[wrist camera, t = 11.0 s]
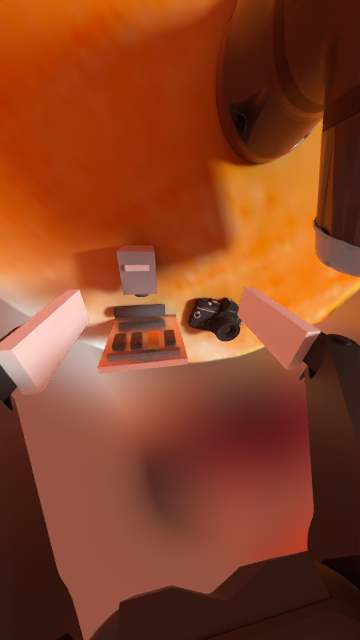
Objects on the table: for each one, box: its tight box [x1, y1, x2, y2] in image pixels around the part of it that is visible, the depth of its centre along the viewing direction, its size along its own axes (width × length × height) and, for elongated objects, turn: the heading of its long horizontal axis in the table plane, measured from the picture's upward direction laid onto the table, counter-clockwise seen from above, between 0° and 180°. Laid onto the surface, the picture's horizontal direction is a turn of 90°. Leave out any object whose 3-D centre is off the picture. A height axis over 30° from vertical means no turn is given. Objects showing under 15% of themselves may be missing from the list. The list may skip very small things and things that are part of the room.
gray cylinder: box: [114, 304, 165, 319], centre depth 33 cm, size 10×2×2 cm, turn 89°
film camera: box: [188, 298, 243, 341], centre depth 36 cm, size 13×8×10 cm
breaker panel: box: [98, 314, 188, 373], centre depth 30 cm, size 4×13×14 cm, turn 89°
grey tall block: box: [116, 245, 157, 297], centre depth 26 cm, size 7×5×9 cm
